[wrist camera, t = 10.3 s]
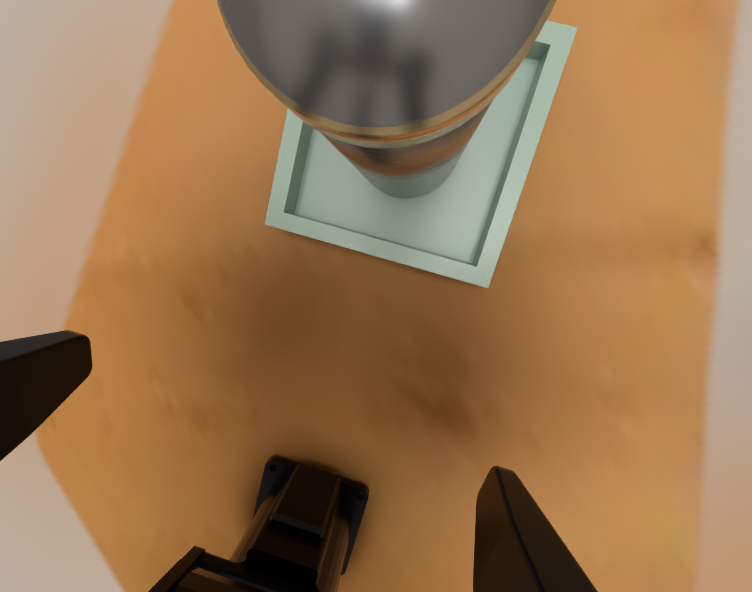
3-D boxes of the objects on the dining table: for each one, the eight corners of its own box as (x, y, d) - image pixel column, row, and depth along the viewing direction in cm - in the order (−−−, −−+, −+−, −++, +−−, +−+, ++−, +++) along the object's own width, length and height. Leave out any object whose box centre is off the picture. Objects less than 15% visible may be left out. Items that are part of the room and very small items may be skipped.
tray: (479, 280, 20) (488, 288, 17) (283, 224, 20) (264, 224, 18) (555, 55, 17) (577, 27, 15) (330, 1, 18) (316, -35, 16)
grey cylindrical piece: (443, 212, 18) (502, 170, 5) (342, 184, 18) (174, 82, 6) (477, 101, 17) (649, -270, 4) (370, 73, 17) (240, -349, 5)
